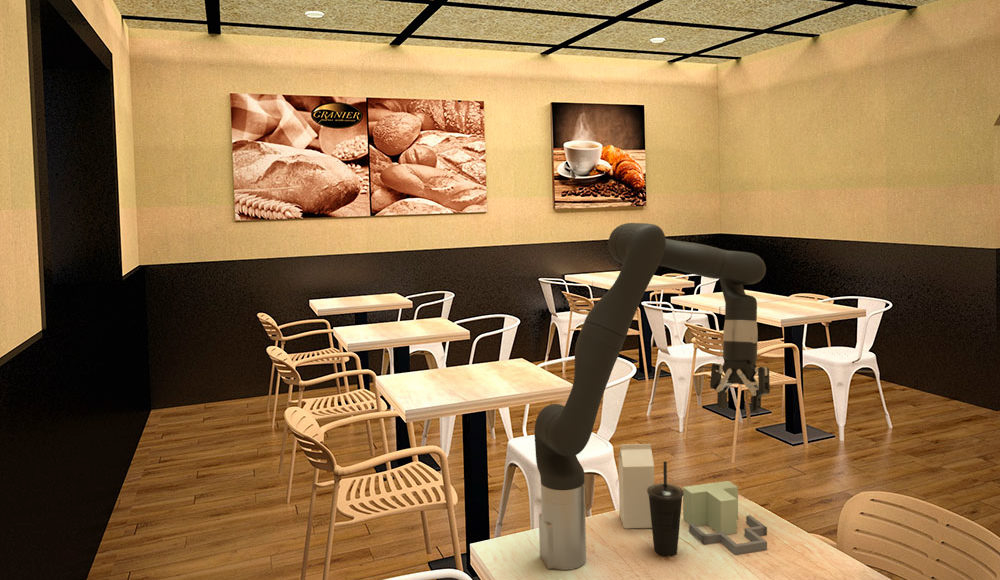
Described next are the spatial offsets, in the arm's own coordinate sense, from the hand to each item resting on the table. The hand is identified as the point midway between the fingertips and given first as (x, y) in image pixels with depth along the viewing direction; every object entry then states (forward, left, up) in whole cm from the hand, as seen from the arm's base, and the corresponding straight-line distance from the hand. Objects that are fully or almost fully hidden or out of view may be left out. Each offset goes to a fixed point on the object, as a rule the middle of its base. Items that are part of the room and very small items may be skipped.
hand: (738, 410), depth 164 cm
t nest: (-6, -7, -27) cm, 28 cm away
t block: (-6, 0, -27) cm, 27 cm away
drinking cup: (-23, -8, -27) cm, 36 cm away
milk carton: (-23, +7, -27) cm, 36 cm away
